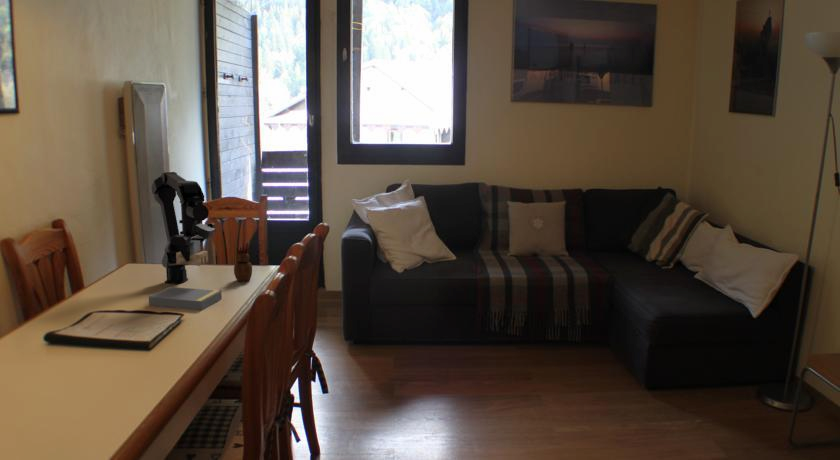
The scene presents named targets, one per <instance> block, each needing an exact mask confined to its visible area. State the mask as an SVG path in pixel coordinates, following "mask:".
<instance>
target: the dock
mask: <svg viewBox="0 0 840 460" xmlns="http://www.w3.org/2000/svg"><path fill="white" fill-rule="evenodd" d="M221 300H222V290H220V289H214V290H213V289H203V288H202V289H200V288H190V287H187V288H186V287H178V286H169V287H166V288H164V289H163V290H160V291H159V292H155V293H154V294H152V295H150V296H148V305H149V306H151V307H152V306H153V307H162V308H163V307H164V308H175V309H187V310H198V311H199V310H200V311H204V310H205V309H207V308H208V307H211V306H212V305H214V304H216V303H218V302H220V301H221Z"/></svg>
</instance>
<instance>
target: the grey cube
mask: <svg viewBox="0 0 840 460" xmlns="http://www.w3.org/2000/svg"><path fill="white" fill-rule="evenodd" d="M190 243H193V245H192V246H191V247H190V254H195V253H198V252H200V251H202V250H201V249H200V240H191V242H190Z"/></svg>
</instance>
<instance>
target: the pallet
mask: <svg viewBox="0 0 840 460" xmlns="http://www.w3.org/2000/svg"><path fill="white" fill-rule="evenodd" d="M208 252H209V251H207V250H201V251H200V252H198V253H195V254H190V258H189V261H188V262H187V261H185V259H184V257H183V255H182V254H181V252H178V253H176V261H177V264H183V265H185V266H198V267H199V266H201V265H204V264H205V263H208V262H209V256H208Z"/></svg>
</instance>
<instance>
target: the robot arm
mask: <svg viewBox="0 0 840 460" xmlns="http://www.w3.org/2000/svg"><path fill="white" fill-rule="evenodd" d="M150 188H151V193H152V195H153V197H154V200H155V201H156V202H157V203H158V204H159V205H160V209H161V214H162V219H163V225H164V229H165V231H164V232H165V236H166V240H167V243H166V245H165V248H164V254H163V257H162V258H161V264H162V267H164V268H166V269H165V270H166V280H164V283H167V284H177V285H178V284H181V283H184V282H186V281H189V278H188V275H187V269H186V265H183V264H177V261H176V253H178V252H181V254H182V255H183V257H184V259H185V261H187V262H188V261H189V258H190V247H191V246H192V245H193V243H190V242H191V240H200V249H201V248H202V245H203V244H204V242H205V241H206V240H209V239H210V238H214V237H213V236H214V233H216V232H217V230H216V229H217V228H216V224H215V223H214V222H210V223H208V224H206V223H205V224H204V223H203V221H205V220H206V219H207V218H208V216H209V214H210V210H209V209H208V207H207V206H206V205H204V202H205V201H206V200H205V194H204V192H203V190H202V188H201V185H200V184H199V183H198V182H197V181H196V180H195V181H194V180H186V179H185V178H184V177H181V176H180V175H178V172H175V171H168V172H162V173H161V175H160V176H159V177H158V178H156V179H154V180H153V183H152V184H151V187H150ZM176 196H177V198H178V199H179V203H180V211H181V212H180V213H181V214H180V215H181V219H179V221H178V220H177V215H176V210H175V206H174V204H175V203H174V202H175V199H176ZM178 222H179V223H178ZM178 224H181V229H182V230H180V231H179V225H178Z"/></svg>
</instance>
